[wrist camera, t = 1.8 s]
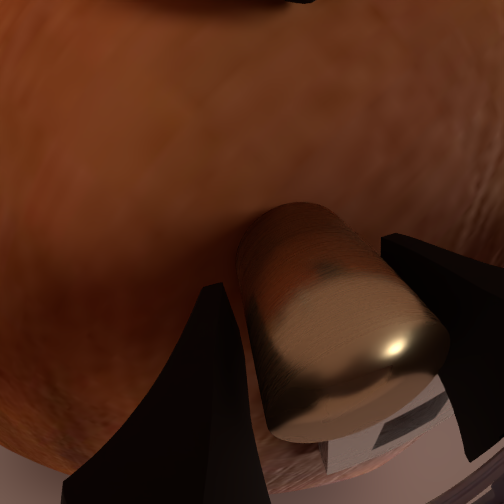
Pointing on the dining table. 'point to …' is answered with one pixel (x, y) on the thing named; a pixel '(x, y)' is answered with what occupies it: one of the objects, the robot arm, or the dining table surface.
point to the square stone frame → (389, 430)
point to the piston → (331, 326)
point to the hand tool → (301, 1)
